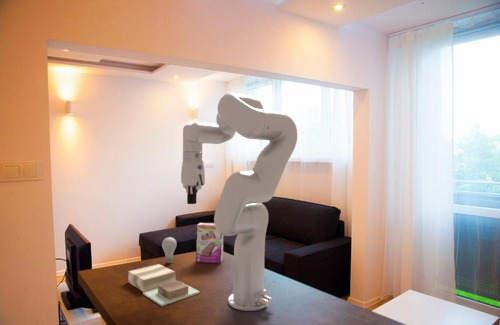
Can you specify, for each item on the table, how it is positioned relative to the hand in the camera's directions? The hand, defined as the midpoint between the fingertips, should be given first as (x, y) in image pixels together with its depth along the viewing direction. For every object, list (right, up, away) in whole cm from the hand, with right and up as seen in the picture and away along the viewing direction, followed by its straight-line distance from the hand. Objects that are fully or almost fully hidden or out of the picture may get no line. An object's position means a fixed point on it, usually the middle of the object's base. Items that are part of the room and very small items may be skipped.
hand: (191, 203), depth 126 cm
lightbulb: (-12, -27, +11) cm, 32 cm away
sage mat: (-3, -27, -20) cm, 34 cm away
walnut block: (-2, -25, -21) cm, 33 cm away
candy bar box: (+5, -27, +14) cm, 31 cm away
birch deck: (-12, -27, -10) cm, 31 cm away
